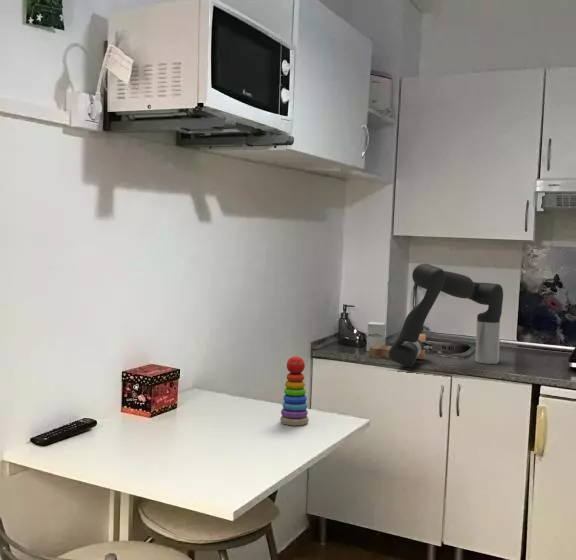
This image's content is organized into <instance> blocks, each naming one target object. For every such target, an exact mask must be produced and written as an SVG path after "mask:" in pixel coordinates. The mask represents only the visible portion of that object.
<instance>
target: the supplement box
mask: <svg viewBox="0 0 576 560" xmlns="http://www.w3.org/2000/svg"><path fill="white" fill-rule="evenodd" d="M386 328H387V323H386V322H381V321H380V322H379V321H377V322H376V321H369V322H367V332H366V333H367V334H366V352H369V351H370V348H371V347H373V346H374V345H385V346H386V330H387V329H386Z"/></svg>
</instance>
